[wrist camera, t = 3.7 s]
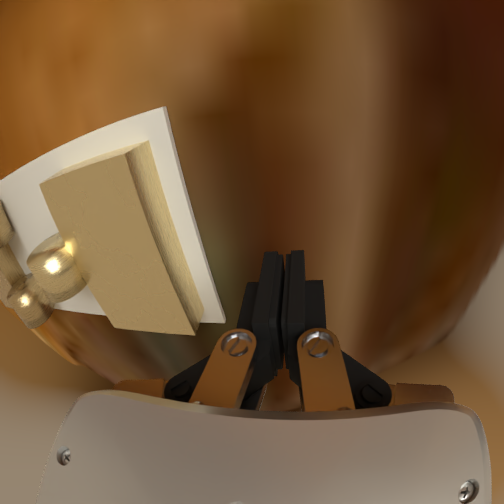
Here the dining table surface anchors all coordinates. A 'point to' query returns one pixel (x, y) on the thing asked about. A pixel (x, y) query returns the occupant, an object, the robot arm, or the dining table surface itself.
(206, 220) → the dining table surface
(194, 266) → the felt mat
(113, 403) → the robot arm
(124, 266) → the door leaf
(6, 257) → the frame leaf
